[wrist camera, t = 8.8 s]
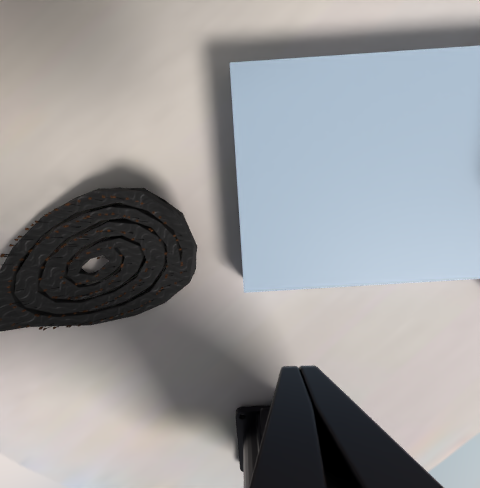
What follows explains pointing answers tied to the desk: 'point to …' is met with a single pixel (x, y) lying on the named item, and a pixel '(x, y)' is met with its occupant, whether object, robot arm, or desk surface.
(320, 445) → the robot arm
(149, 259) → the black spiral-grooved part
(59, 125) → the desk surface
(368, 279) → the board
